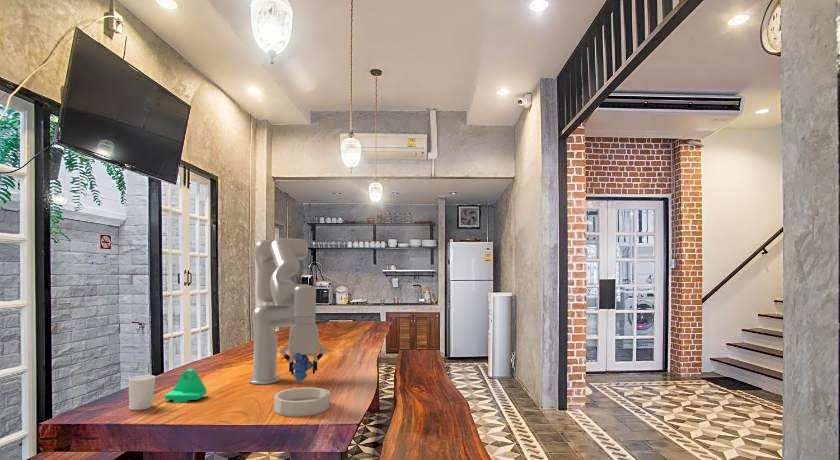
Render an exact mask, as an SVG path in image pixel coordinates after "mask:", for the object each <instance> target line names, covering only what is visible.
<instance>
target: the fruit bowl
mask: <svg viewBox="0 0 840 460" xmlns="http://www.w3.org/2000/svg"><path fill="white" fill-rule="evenodd" d="M273 398H274V399H273V411H274V413H275V414H276V415H279V416H283V417H290V418H299V417H300V418H302V417H312V416H316V415H319V414H323V413H325V412H327V411H328V410H329V409H330V405H331V404H330V403H331V401H330V400H331V399H330V398H331V394H330V391H329V390H327V389H325V388H320V387H319V388H318V387H307V386H306V387H295V388H288V389H284V390H281V391H279V392H277V393H275V394H274V397H273Z"/></svg>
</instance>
